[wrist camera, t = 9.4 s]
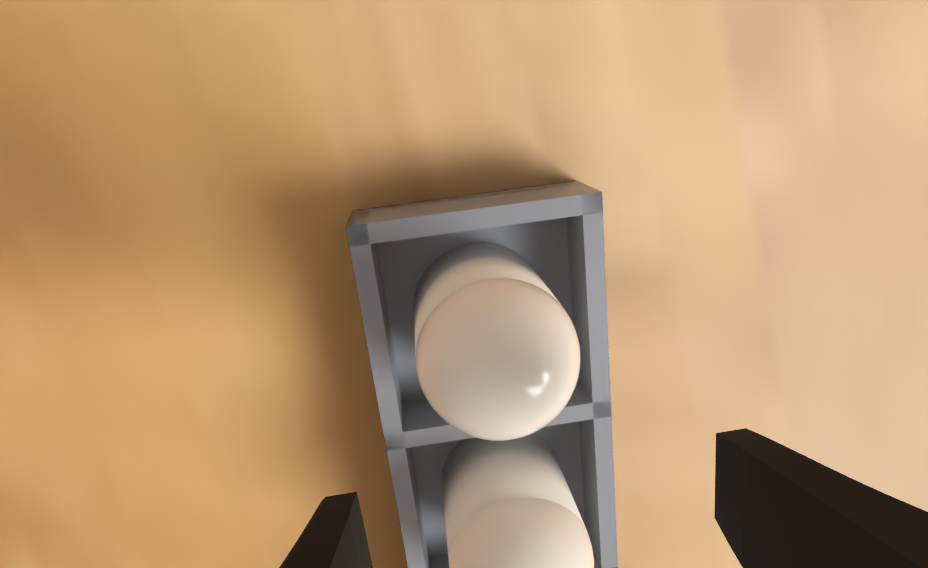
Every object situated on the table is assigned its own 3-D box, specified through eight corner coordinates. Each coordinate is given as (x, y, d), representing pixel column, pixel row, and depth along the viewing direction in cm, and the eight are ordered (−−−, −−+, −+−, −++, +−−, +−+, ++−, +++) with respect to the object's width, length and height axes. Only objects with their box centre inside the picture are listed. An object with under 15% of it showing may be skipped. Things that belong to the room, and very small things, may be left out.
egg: (423, 375, 20) (431, 489, 14) (404, 252, 18) (402, 322, 13) (548, 356, 20) (607, 460, 14) (538, 234, 19) (598, 293, 13)
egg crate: (437, 685, 25) (448, 887, 19) (353, 210, 19) (324, 267, 12) (603, 655, 25) (670, 843, 19) (577, 180, 19) (665, 220, 12)
